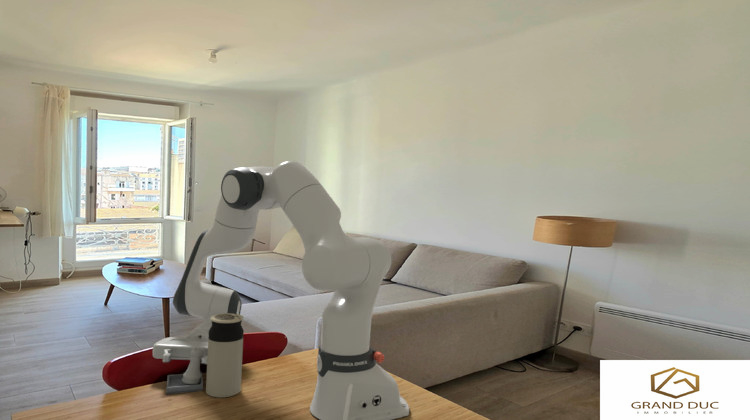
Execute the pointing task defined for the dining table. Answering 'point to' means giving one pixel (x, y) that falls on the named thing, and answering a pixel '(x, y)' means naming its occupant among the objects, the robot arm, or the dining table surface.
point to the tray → (181, 385)
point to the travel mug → (224, 355)
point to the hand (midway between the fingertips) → (185, 360)
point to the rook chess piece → (193, 368)
